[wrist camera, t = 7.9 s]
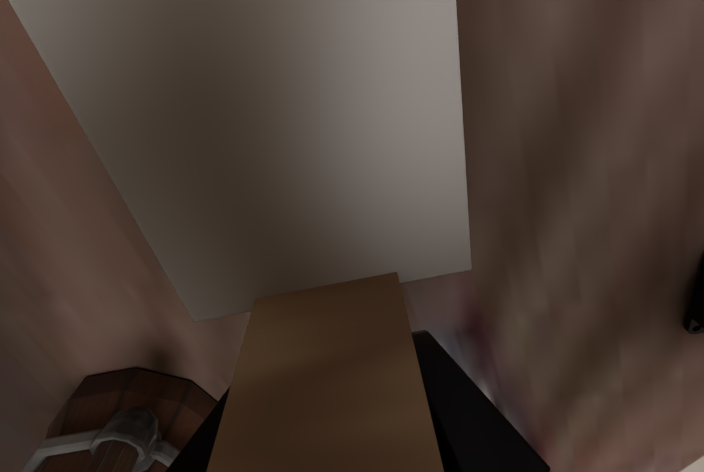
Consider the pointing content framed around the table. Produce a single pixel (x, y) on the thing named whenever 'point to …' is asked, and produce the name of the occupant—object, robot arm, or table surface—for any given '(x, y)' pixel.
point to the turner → (285, 197)
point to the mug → (122, 424)
